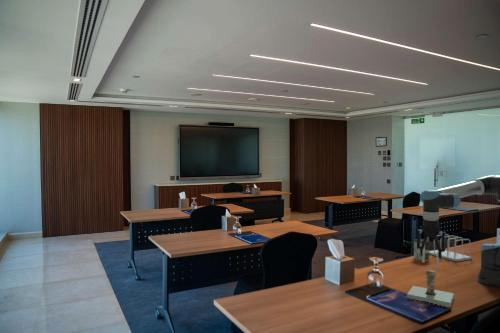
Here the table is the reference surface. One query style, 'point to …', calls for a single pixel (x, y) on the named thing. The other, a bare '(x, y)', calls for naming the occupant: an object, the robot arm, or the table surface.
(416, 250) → the coffee can
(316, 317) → the table surface
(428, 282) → the peg
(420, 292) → the board
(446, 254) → the file sorter
